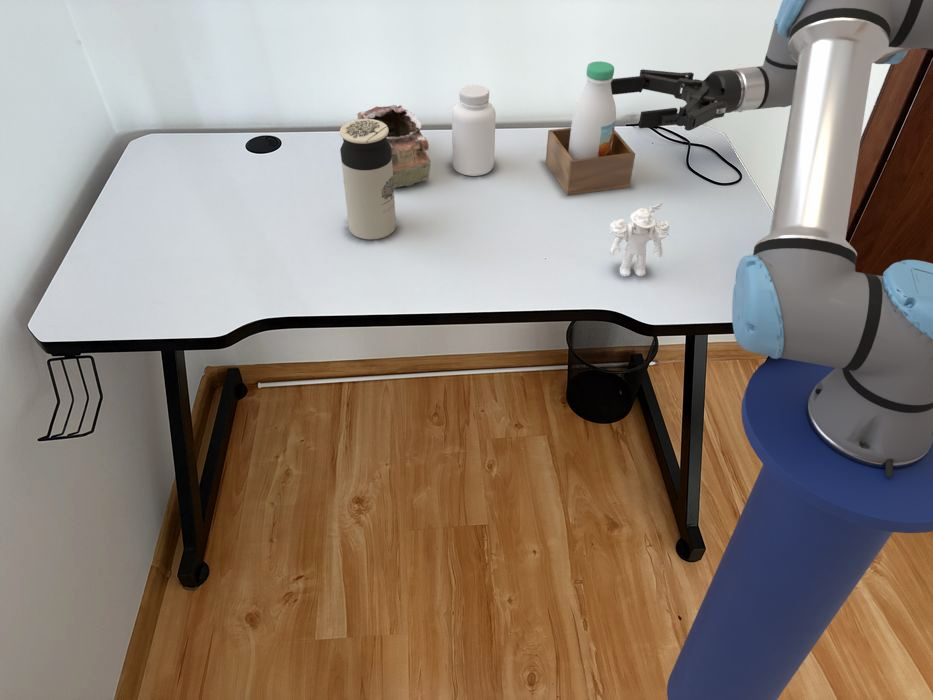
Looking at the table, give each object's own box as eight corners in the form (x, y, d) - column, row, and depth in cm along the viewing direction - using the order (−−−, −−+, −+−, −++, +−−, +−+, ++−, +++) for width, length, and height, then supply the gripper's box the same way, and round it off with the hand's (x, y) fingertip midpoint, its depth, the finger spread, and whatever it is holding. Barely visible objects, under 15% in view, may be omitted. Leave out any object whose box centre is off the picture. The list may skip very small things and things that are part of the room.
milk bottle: (581, 185, 138) (595, 78, 125) (558, 166, 143) (569, 61, 130) (615, 175, 141) (633, 70, 127) (592, 157, 146) (606, 53, 132)
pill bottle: (473, 152, 149) (475, 77, 138) (502, 167, 144) (506, 91, 134) (443, 165, 145) (442, 89, 134) (472, 181, 140) (473, 104, 130)
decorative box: (361, 198, 136) (356, 148, 129) (343, 146, 150) (338, 99, 143) (432, 188, 138) (431, 139, 132) (408, 138, 153) (406, 91, 146)
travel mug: (339, 229, 128) (327, 131, 116) (371, 209, 133) (362, 112, 121) (374, 246, 125) (365, 146, 112) (405, 225, 129) (400, 127, 117)
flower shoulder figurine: (658, 264, 122) (672, 199, 114) (662, 279, 119) (677, 214, 111) (602, 263, 122) (612, 198, 114) (604, 278, 119) (615, 212, 111)
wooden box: (629, 187, 139) (635, 153, 135) (567, 195, 137) (571, 161, 132) (604, 155, 148) (609, 123, 143) (545, 162, 146) (548, 130, 141)
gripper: (762, 141, 132) (651, 155, 128) (695, 83, 150) (595, 93, 146) (774, 100, 127) (659, 113, 123) (703, 44, 145) (600, 55, 141)
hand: (624, 103), depth 134 cm, fingers open, 13 cm apart
